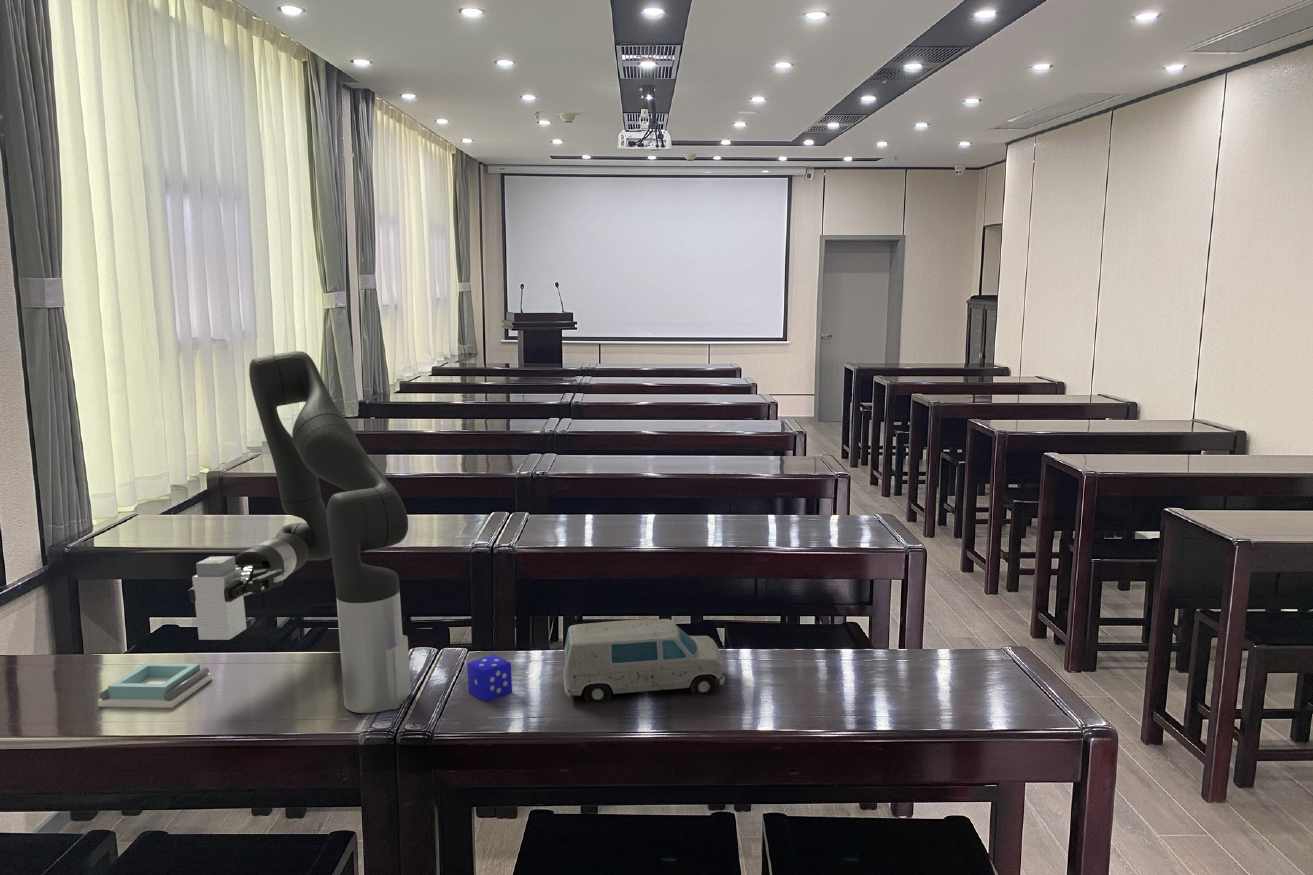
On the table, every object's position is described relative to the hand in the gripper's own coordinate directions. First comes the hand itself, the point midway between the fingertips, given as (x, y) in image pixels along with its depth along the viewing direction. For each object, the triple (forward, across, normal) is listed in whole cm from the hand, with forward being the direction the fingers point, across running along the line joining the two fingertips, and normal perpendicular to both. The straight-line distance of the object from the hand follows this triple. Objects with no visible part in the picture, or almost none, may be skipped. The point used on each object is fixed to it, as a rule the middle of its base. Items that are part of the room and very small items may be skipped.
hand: (209, 595), depth 144 cm
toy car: (-8, +66, +18) cm, 68 cm away
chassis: (-3, -12, +17) cm, 21 cm away
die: (-5, +42, +18) cm, 46 cm away
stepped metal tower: (-3, 0, +7) cm, 7 cm away
